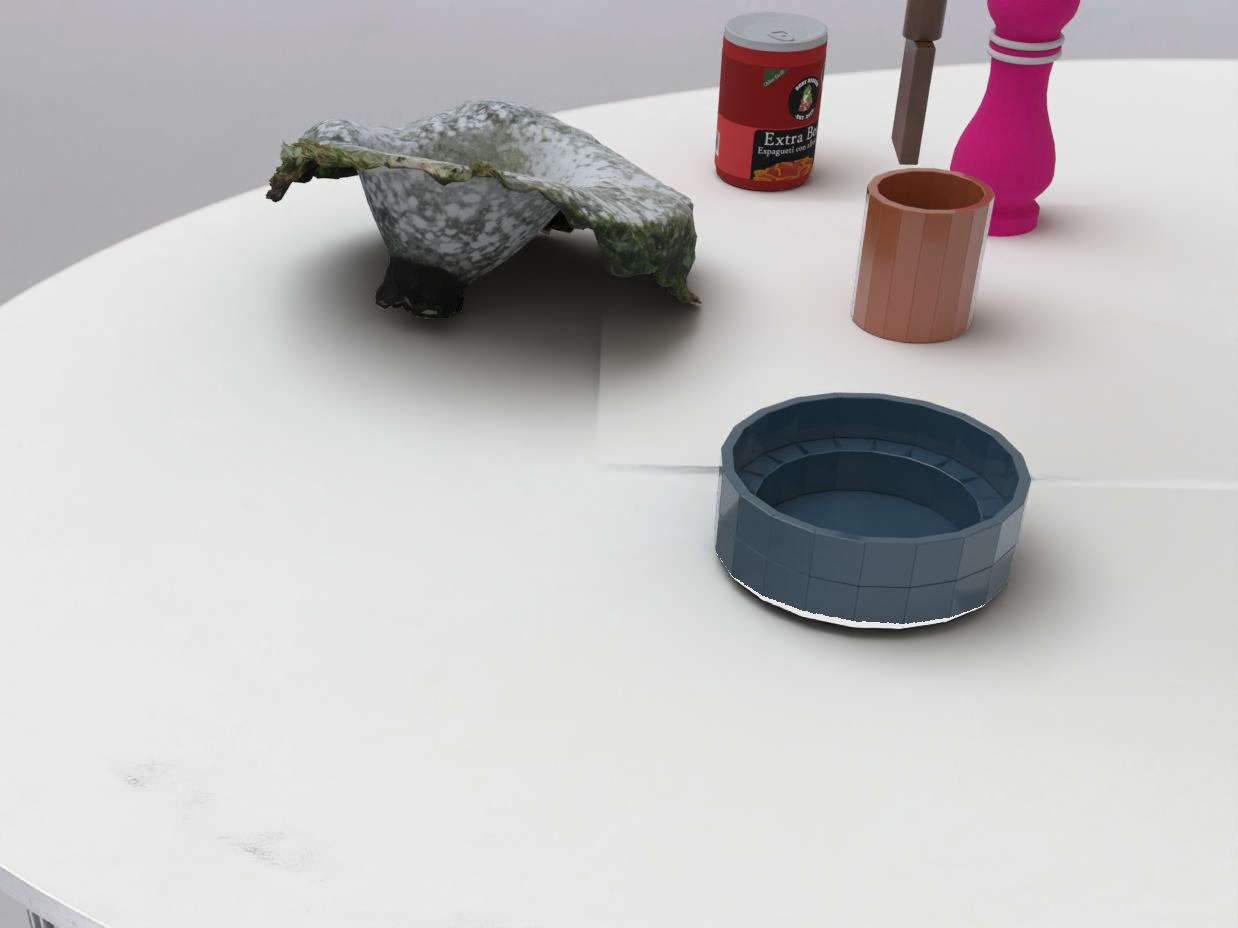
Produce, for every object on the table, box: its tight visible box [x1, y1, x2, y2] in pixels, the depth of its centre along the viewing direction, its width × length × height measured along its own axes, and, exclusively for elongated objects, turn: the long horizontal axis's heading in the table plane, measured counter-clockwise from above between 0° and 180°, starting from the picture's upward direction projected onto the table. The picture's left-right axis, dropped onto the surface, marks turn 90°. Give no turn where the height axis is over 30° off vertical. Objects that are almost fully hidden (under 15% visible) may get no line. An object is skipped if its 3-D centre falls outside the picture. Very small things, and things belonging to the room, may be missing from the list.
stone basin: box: [265, 98, 703, 320], centre depth 107 cm, size 29×30×15 cm
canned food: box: [714, 11, 829, 192], centre depth 125 cm, size 8×8×11 cm
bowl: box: [713, 391, 1032, 624], centre depth 85 cm, size 15×15×6 cm
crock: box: [850, 167, 995, 345], centre depth 105 cm, size 8×8×9 cm
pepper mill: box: [949, 0, 1081, 238], centre depth 114 cm, size 7×7×20 cm
